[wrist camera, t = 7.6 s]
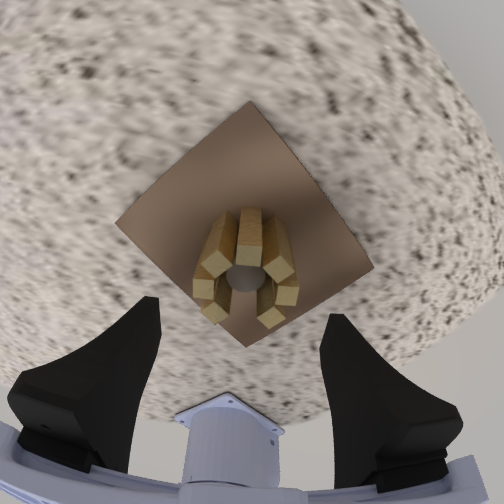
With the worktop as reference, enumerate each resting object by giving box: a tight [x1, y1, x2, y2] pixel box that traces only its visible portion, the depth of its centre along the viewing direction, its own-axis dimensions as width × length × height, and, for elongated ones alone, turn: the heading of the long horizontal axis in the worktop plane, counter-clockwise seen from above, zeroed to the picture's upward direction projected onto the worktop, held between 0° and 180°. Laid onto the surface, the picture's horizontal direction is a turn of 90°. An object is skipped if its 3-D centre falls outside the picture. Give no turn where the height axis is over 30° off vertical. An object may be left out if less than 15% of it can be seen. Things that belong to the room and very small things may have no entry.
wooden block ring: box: [193, 206, 299, 329], centre depth 17 cm, size 5×5×5 cm
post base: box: [115, 101, 374, 347], centre depth 19 cm, size 13×11×5 cm
